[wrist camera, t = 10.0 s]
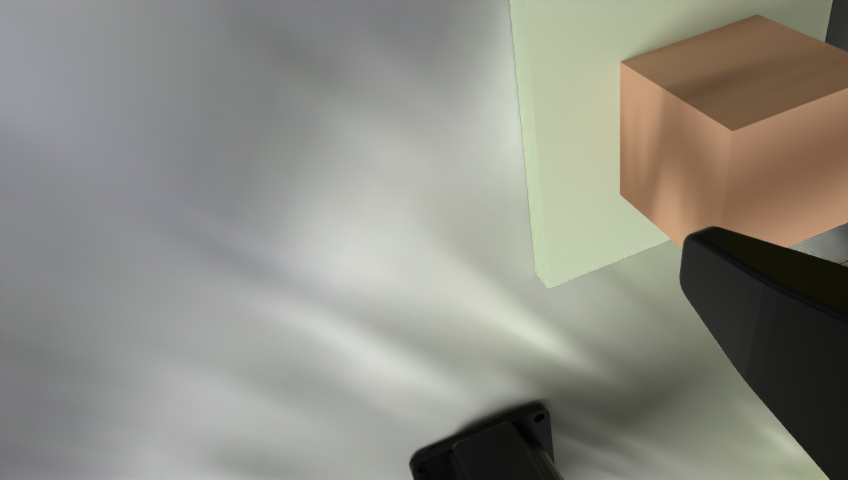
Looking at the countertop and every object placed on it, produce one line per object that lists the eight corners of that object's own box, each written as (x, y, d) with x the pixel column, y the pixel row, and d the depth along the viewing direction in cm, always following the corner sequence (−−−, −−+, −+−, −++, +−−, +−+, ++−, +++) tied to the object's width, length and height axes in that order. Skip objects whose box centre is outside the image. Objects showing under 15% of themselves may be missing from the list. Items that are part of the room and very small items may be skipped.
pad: (777, 176, 29) (796, 189, 28) (535, 273, 27) (548, 288, 26) (827, -116, 22) (854, -111, 21) (507, -15, 20) (524, -6, 19)
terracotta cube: (740, 148, 26) (853, 219, 22) (619, 194, 25) (715, 278, 21) (757, 14, 23) (892, 70, 19) (620, 61, 22) (732, 131, 18)
